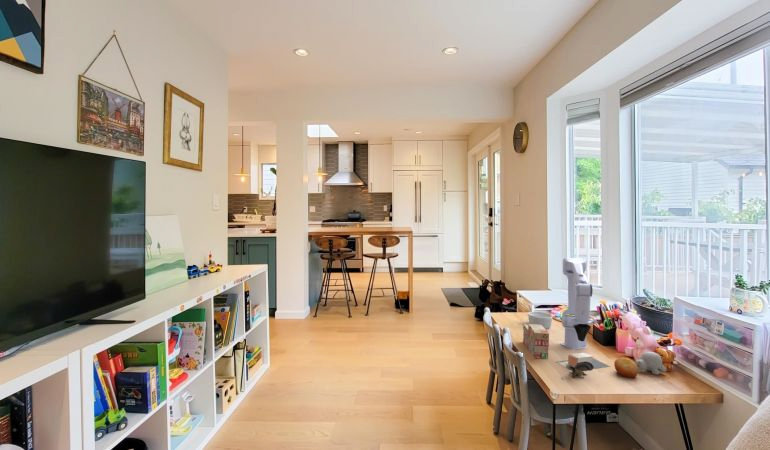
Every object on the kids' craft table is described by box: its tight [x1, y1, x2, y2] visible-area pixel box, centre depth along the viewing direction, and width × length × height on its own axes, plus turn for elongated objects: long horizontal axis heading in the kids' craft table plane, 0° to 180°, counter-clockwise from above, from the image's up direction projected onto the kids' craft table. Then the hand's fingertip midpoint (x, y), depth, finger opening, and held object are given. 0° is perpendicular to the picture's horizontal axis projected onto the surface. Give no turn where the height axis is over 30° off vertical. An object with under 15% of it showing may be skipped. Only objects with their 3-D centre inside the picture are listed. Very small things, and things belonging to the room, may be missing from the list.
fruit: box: [614, 357, 638, 378], centre depth 143 cm, size 8×8×8 cm
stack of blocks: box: [522, 323, 550, 360], centre depth 168 cm, size 21×6×12 cm, turn 171°
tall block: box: [567, 352, 593, 367], centre depth 152 cm, size 4×4×9 cm
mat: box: [556, 357, 612, 372], centre depth 152 cm, size 20×10×1 cm, turn 107°
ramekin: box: [527, 311, 553, 330], centre depth 206 cm, size 13×13×7 cm
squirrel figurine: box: [565, 362, 594, 379], centre depth 141 cm, size 8×7×9 cm
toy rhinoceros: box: [633, 351, 667, 376], centre depth 146 cm, size 7×12×8 cm, turn 87°
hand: (581, 340), depth 155 cm, fingers closed
